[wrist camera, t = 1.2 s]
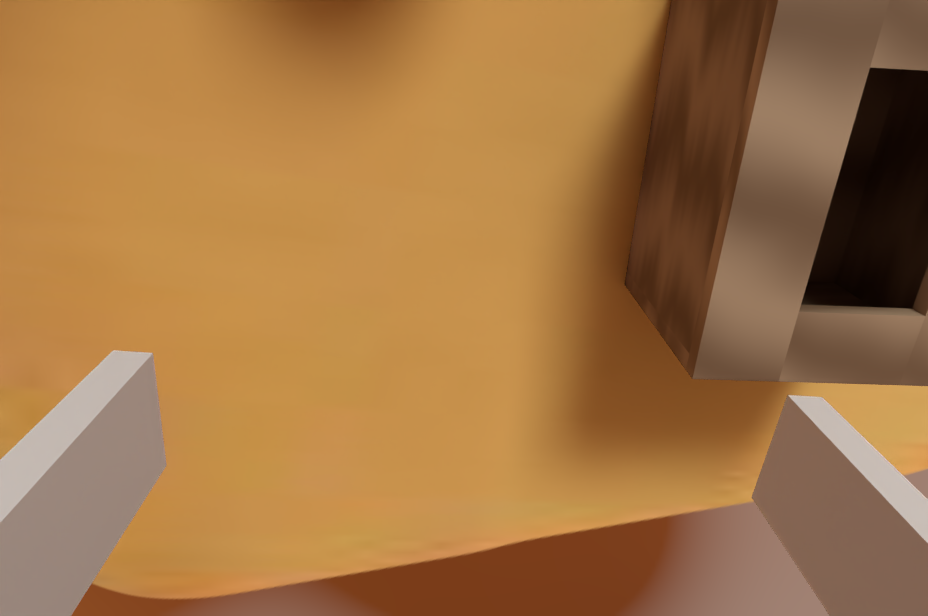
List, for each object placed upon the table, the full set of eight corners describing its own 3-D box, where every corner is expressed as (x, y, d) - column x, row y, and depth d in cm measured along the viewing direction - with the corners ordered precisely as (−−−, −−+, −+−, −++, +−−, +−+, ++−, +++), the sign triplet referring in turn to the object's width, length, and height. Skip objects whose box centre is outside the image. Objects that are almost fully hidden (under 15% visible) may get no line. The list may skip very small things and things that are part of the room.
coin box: (675, -21, 31) (788, -47, 20) (931, -5, 31) (1165, -23, 21) (624, 284, 37) (692, 378, 27) (838, 292, 38) (982, 387, 27)
